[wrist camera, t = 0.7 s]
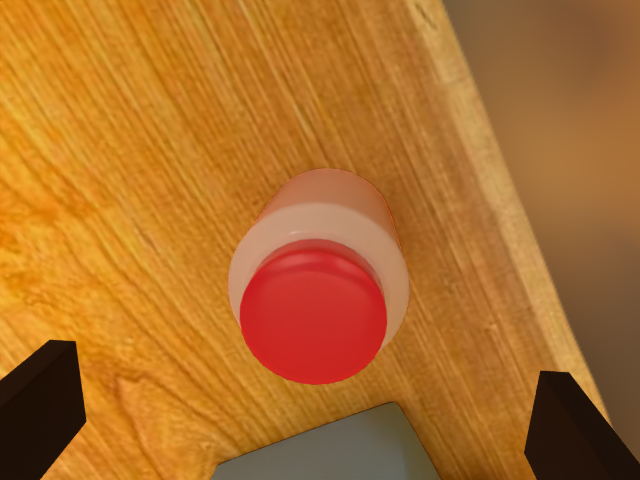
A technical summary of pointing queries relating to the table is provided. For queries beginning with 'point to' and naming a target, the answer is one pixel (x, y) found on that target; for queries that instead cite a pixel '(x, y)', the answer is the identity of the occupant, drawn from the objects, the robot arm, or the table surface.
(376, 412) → the container
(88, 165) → the table surface
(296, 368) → the pill bottle
